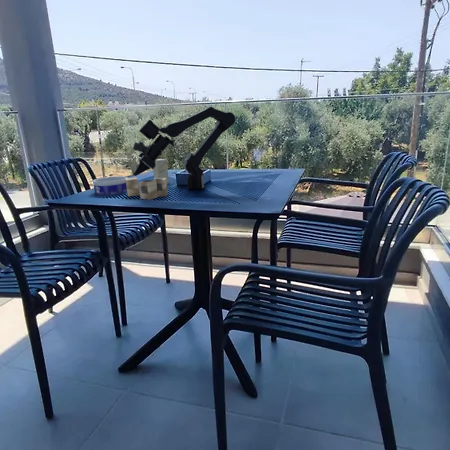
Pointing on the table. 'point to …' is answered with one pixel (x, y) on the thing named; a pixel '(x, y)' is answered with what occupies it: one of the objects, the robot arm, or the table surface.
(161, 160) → the skincare box
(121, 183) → the dog bowl
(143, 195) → the labelled oak block near
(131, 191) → the plain oak block
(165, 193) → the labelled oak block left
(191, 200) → the table surface
